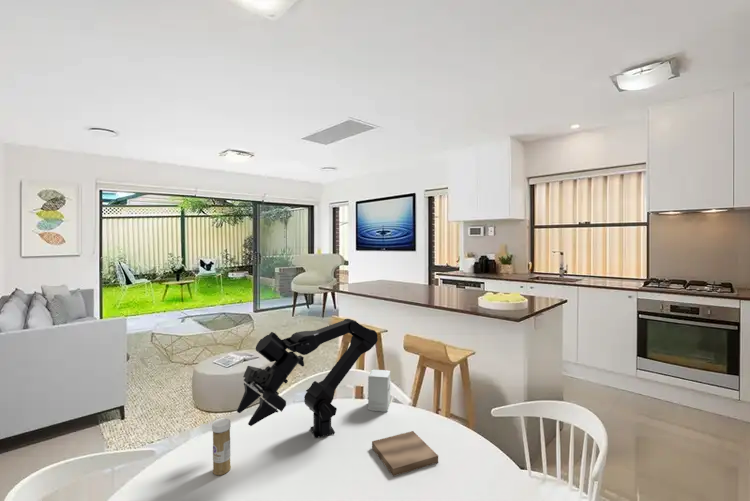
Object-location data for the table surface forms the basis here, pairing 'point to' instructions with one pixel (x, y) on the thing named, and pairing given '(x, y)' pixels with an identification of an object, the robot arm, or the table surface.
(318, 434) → the robot arm
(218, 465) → the sprinkles bottle
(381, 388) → the supplement box
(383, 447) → the brown wooden square board
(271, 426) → the table surface
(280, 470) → the table surface
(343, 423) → the table surface
